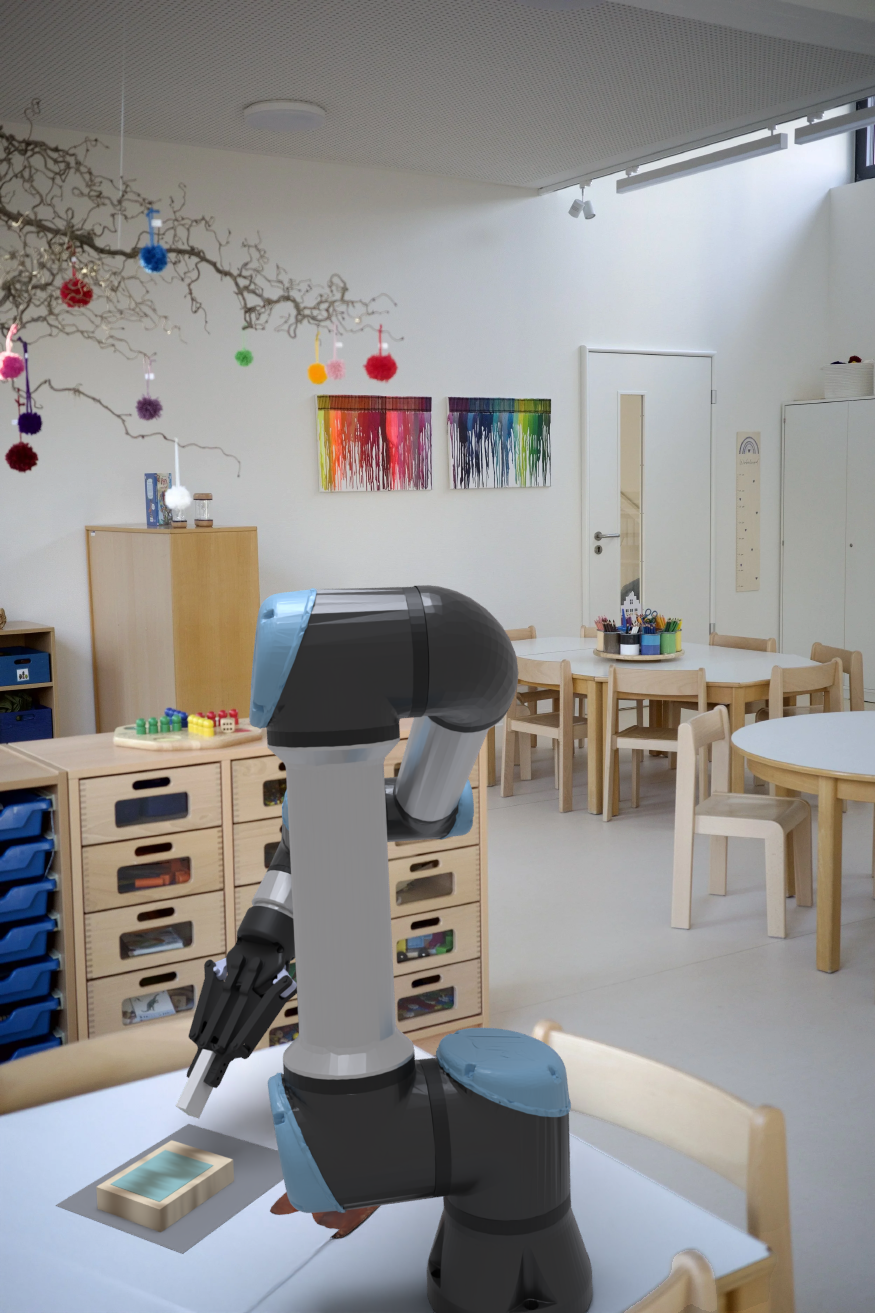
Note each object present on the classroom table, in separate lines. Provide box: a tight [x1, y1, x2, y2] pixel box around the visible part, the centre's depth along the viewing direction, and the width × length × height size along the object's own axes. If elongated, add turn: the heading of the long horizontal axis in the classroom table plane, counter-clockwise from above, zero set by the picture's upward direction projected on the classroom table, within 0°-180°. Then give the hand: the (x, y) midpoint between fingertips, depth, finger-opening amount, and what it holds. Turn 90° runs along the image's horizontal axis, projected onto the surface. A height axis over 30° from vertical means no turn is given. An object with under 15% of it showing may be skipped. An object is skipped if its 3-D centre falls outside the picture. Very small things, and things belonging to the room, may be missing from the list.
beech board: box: [96, 1140, 234, 1232], centre depth 127 cm, size 9×2×11 cm
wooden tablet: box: [269, 1191, 380, 1239], centre depth 132 cm, size 27×10×2 cm, turn 153°
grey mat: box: [55, 1123, 284, 1255], centre depth 129 cm, size 18×20×1 cm
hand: (187, 1112), depth 129 cm, fingers closed
